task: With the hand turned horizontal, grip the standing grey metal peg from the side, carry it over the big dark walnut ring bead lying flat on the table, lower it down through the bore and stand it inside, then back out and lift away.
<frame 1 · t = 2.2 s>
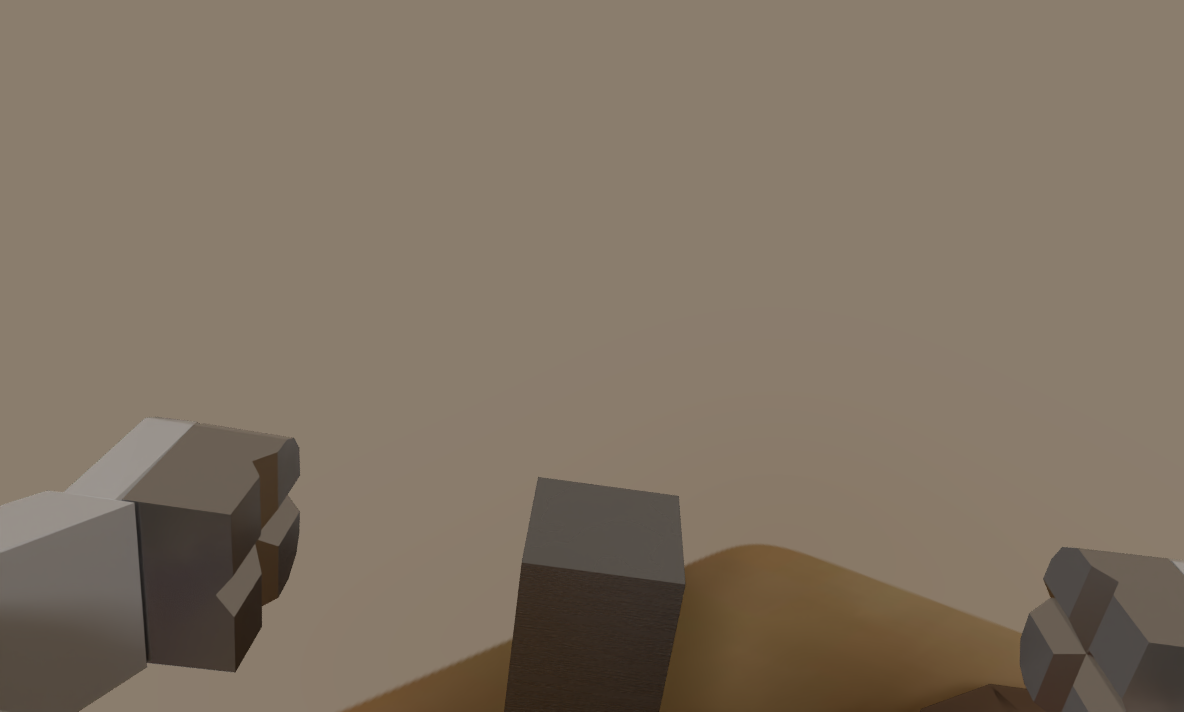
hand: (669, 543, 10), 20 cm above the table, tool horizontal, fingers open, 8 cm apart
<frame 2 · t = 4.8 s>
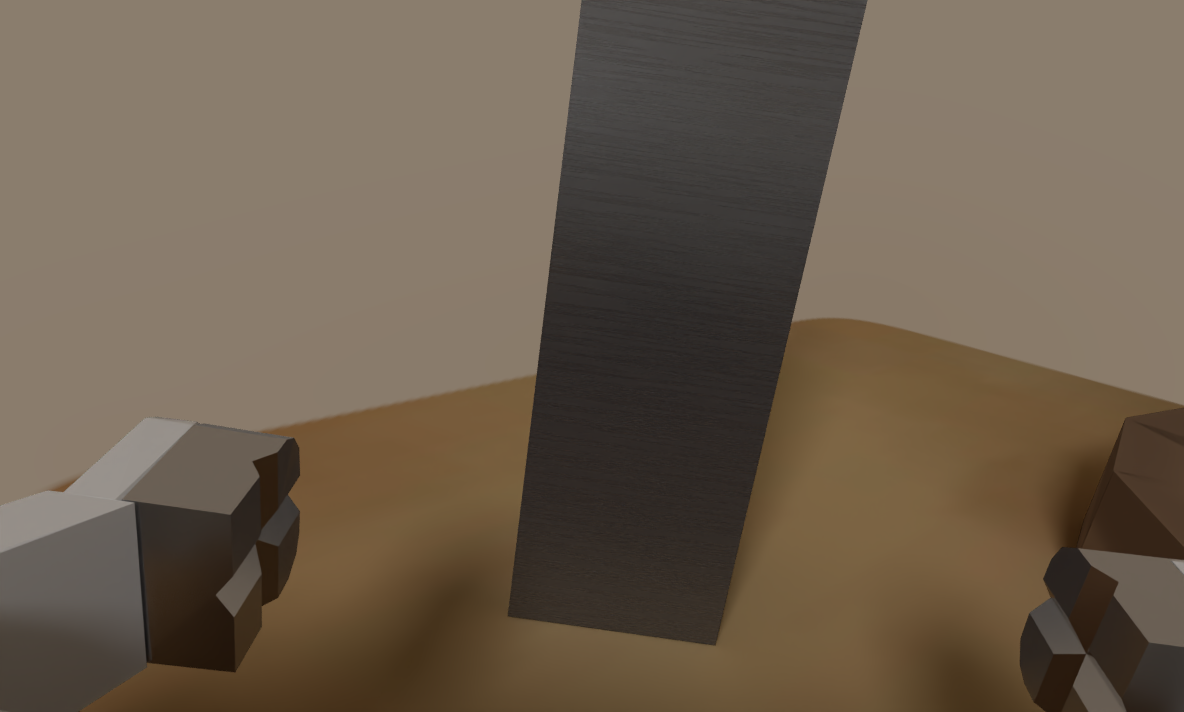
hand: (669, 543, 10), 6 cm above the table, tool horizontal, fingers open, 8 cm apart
metal peg: (614, 567, 19), on the table
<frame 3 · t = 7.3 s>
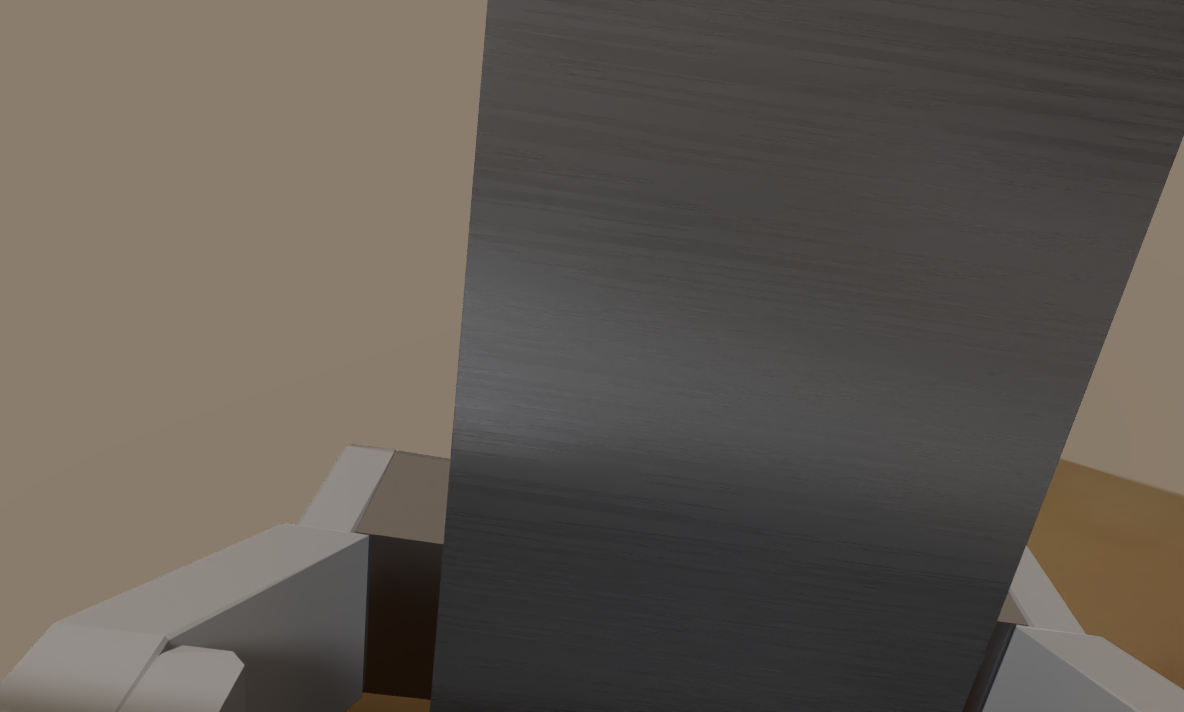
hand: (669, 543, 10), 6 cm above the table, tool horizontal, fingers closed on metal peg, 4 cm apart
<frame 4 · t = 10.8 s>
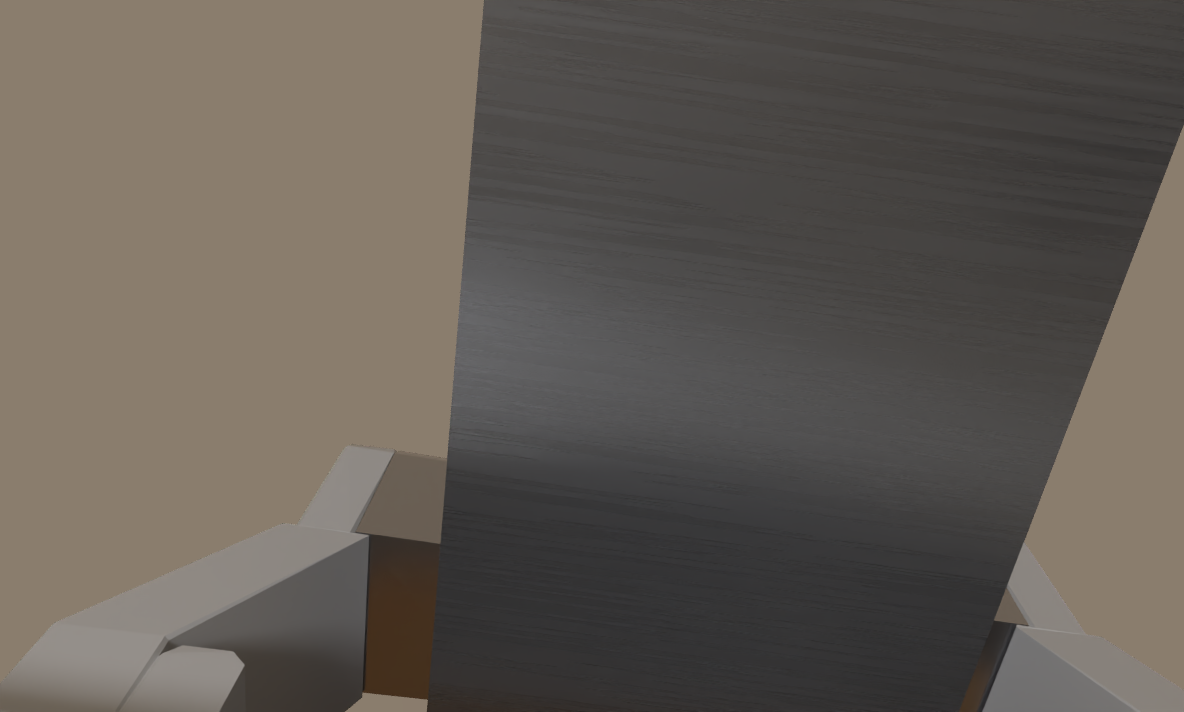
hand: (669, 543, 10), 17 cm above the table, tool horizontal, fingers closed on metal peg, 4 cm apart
when the fingers open (7 cm above the table, at t = 14.6 s): metal peg drops 1 cm, resting in walnut ring.
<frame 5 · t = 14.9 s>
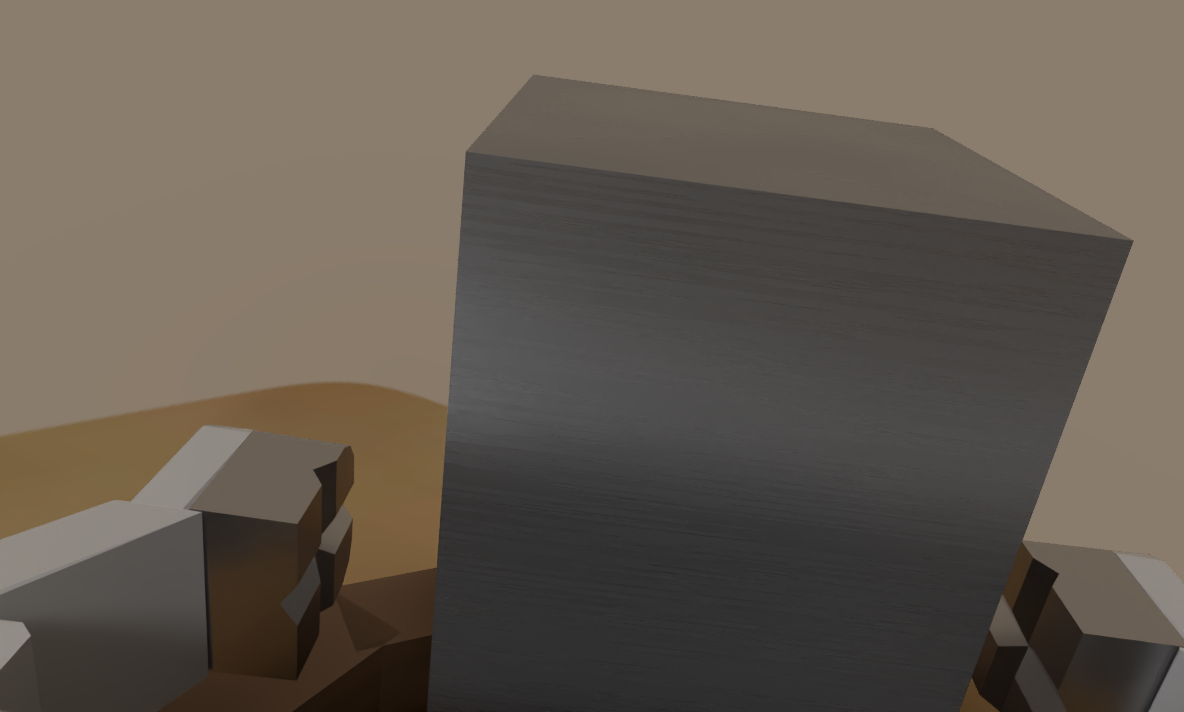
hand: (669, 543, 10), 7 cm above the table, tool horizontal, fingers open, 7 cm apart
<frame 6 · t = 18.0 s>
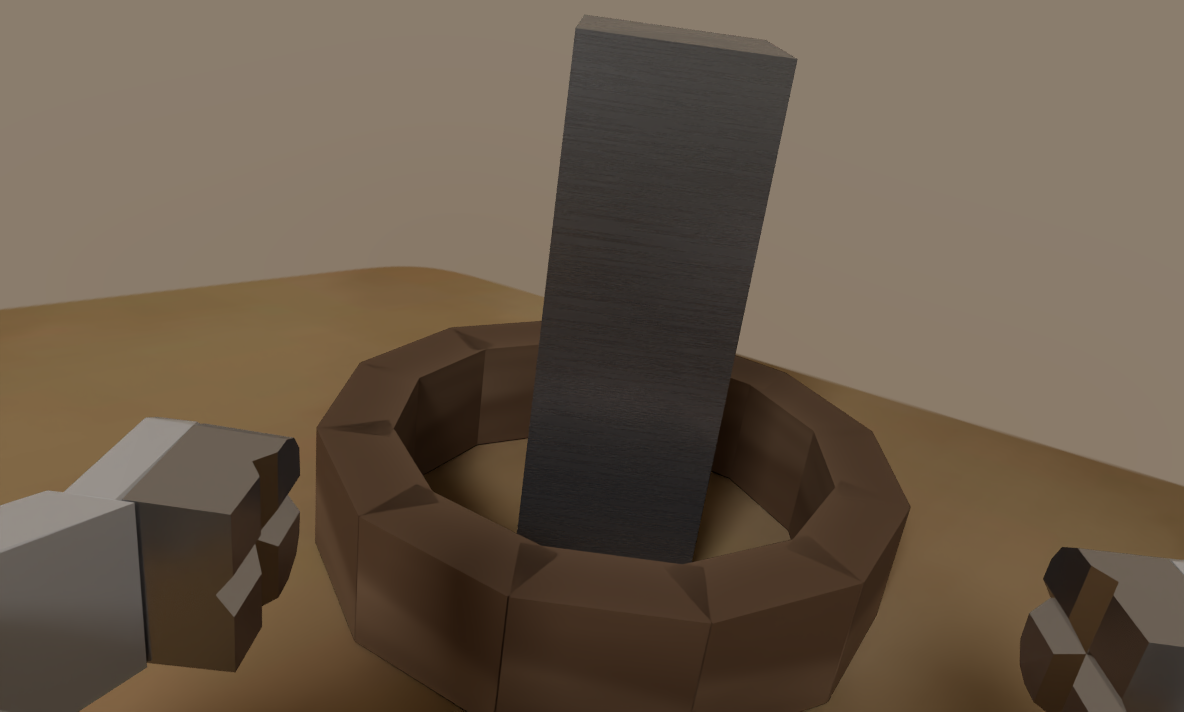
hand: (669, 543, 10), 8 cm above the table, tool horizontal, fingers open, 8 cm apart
metal peg: (600, 536, 23), resting in walnut ring
walnut ring: (599, 534, 23), on the table
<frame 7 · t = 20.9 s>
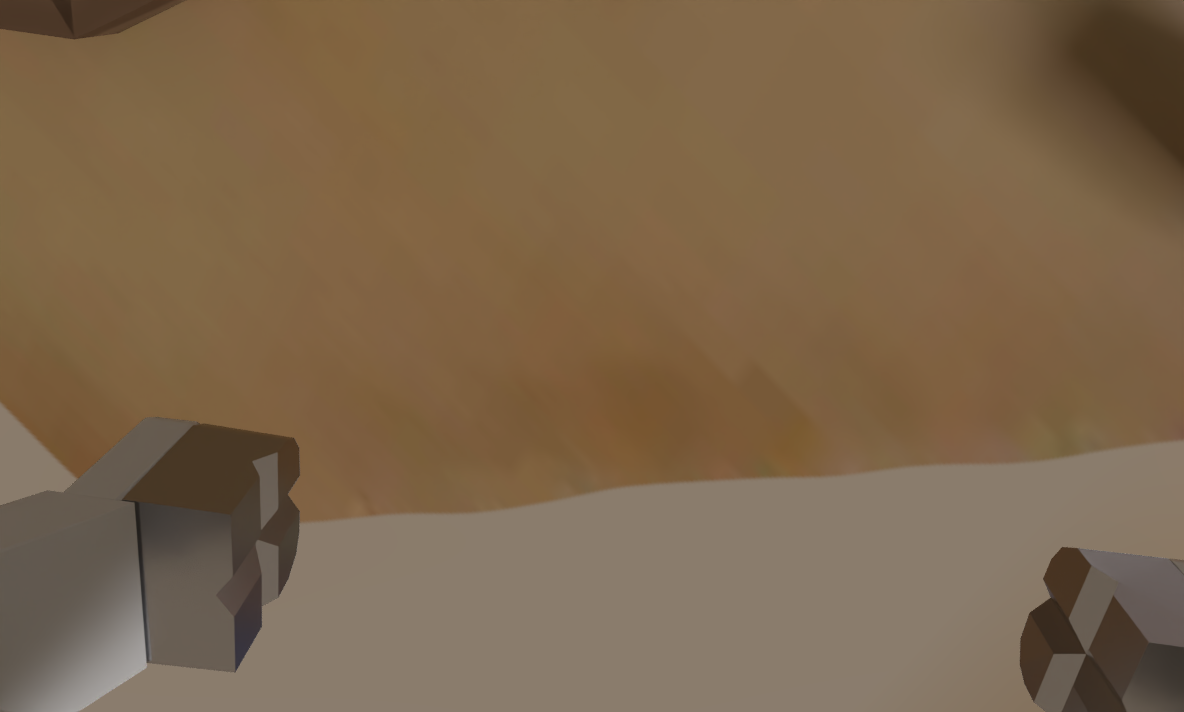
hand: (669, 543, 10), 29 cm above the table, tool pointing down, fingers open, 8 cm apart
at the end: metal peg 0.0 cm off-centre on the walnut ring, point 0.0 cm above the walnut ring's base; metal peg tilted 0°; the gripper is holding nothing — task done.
